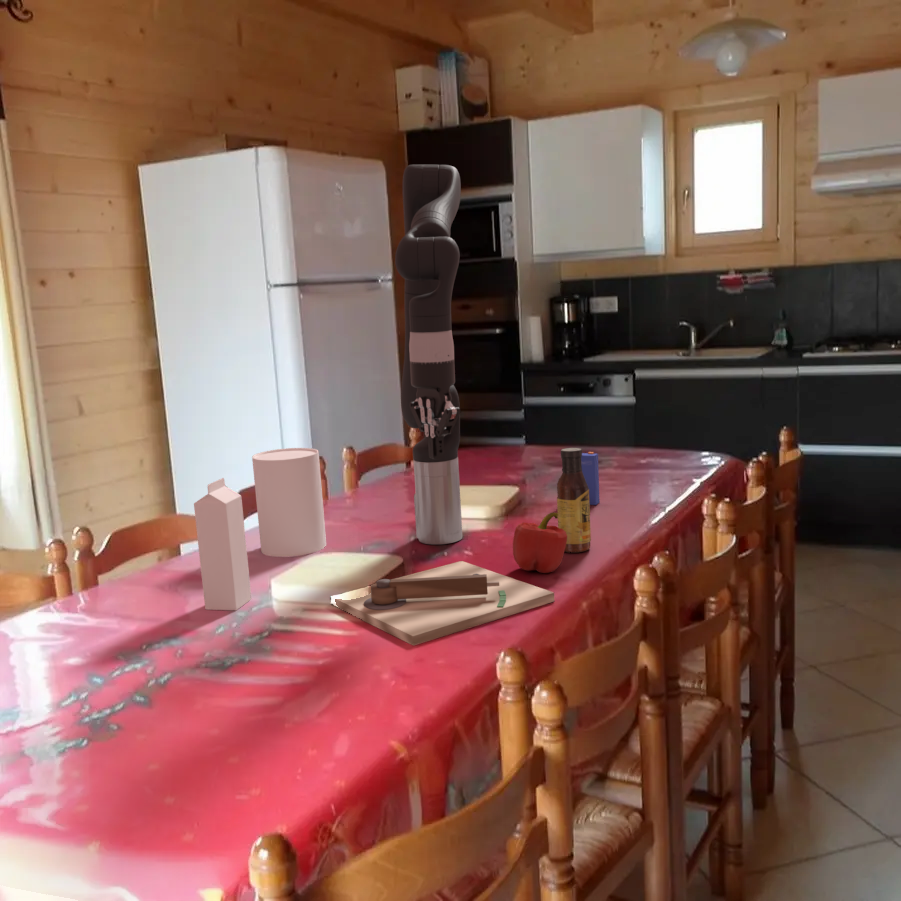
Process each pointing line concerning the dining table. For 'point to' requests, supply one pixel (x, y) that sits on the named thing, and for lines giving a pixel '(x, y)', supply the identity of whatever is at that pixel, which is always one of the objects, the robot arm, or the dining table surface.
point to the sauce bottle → (573, 502)
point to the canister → (289, 501)
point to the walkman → (591, 475)
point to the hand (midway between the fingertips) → (436, 458)
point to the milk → (222, 548)
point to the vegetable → (539, 545)
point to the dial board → (447, 606)
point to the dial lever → (429, 588)
